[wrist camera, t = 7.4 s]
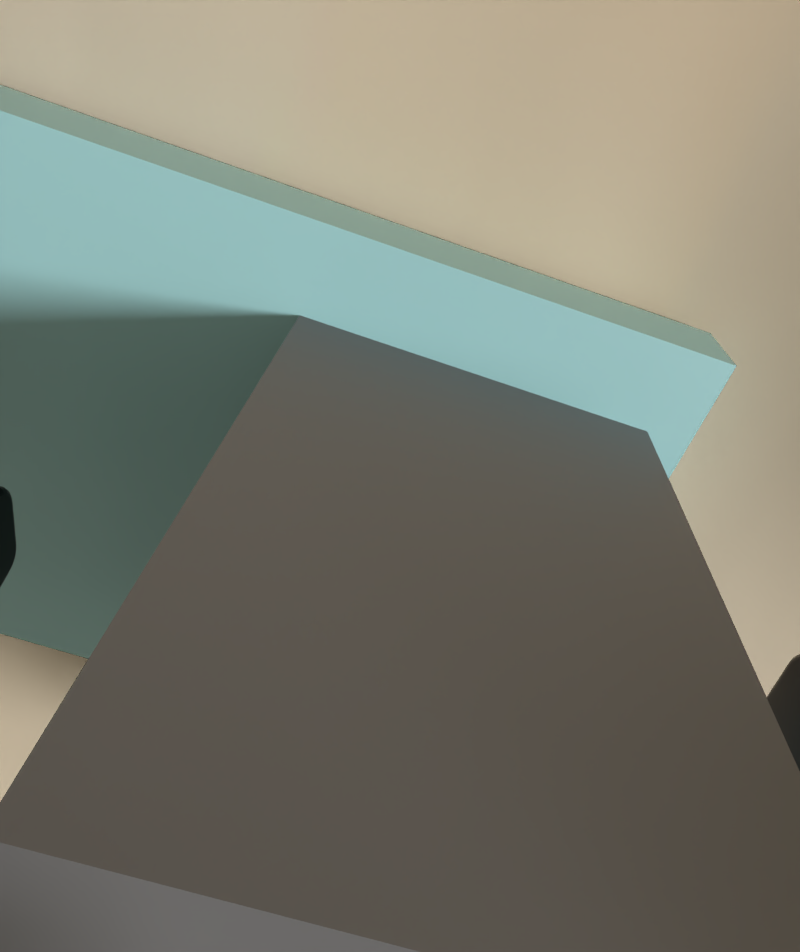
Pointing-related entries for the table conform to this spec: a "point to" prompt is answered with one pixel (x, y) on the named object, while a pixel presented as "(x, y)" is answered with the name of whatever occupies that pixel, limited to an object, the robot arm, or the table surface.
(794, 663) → the robot arm
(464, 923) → the strip
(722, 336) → the table surface
